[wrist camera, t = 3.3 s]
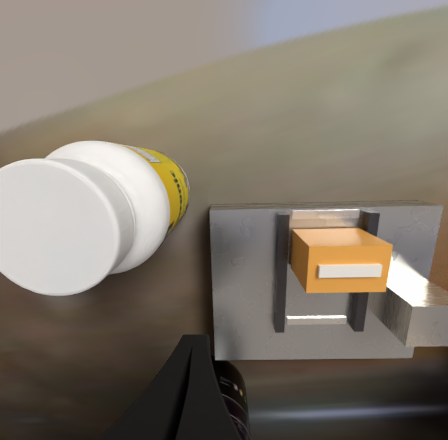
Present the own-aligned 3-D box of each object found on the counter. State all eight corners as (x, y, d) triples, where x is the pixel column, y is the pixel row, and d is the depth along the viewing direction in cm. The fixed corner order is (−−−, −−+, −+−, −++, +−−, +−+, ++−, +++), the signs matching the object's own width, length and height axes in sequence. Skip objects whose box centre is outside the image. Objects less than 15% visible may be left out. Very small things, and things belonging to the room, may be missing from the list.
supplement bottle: (179, 238, 17) (118, 340, 7) (105, 215, 16) (-62, 289, 7) (201, 165, 15) (163, 170, 6) (122, 138, 15) (-55, 96, 6)
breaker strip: (417, 200, 16) (501, 216, 11) (392, 337, 19) (451, 399, 14) (211, 204, 16) (205, 222, 11) (216, 339, 19) (212, 401, 14)
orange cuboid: (358, 228, 14) (396, 246, 11) (354, 266, 15) (388, 294, 12) (292, 229, 14) (310, 248, 11) (290, 267, 15) (307, 295, 12)
